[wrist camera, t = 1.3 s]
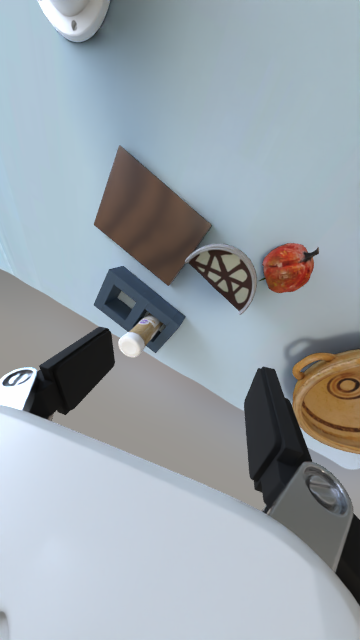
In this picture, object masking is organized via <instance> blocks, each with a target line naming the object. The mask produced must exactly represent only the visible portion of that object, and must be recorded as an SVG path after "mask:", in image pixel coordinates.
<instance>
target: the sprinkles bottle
mask: <svg viewBox="0 0 360 640" xmlns="http://www.w3.org/2000/svg"><path fill="white" fill-rule="evenodd" d="M162 325H163V323H162V322H160V321H159V320H158V319H157V318H155V317H154V316H153V315H152V314H150V313H149V314H148V315H147V316H145V317H144V318H143V319H142V320H141V321H140V322H139V323H138V324H137V325H136V326H135V327H134V328H133V329H131V330H130V331H129V332H128V333H126V334H125V335H123V336H122V337H121V338H120V340H119V343H118V344H119V348H120V350H121V351H122V352H123V353H124V354H125V355H127V356H129V357H137V356H138V355H139V354H140V353H141V352H142V351H143V350H144V348H145V346H146V344H147V343H148V342H149V341H150V340H151V339H152V338H153V336H154V335H155V334H156V333H157V331H158V330H159V329H160V327H161V326H162Z"/></svg>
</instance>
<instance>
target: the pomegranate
mask: <svg viewBox="0 0 360 640" xmlns="http://www.w3.org/2000/svg"><path fill="white" fill-rule="evenodd" d="M317 254H319V248H317V250H315V251H314V252H312V253H308V252H307V250H306V248H305V247H304V246H303V245H301V244H295V243H287V244H285V245H282V246H280V247H277V248H276V249H274V250H272V251H271V252H270V253H269V254H268V255H267V256H266V257H265V258H264V261H263V264H262V265H263V266H264V269H263V270H264V276H265V278H263V279H261V280H264V279H266V282H267V284H268V288H269V289H270V290H272V291H274V292H276V293H283V292H293V291H295V290H297V289H299V288H300V287H302V286H303V285H305V284H306V283H307V282H308V280H309V278H310V275H311V273H312V271H313V268H314V260H313V256H315V255H317ZM261 280H259V281H261Z"/></svg>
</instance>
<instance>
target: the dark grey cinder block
mask: <svg viewBox="0 0 360 640" xmlns="http://www.w3.org/2000/svg"><path fill="white" fill-rule="evenodd" d="M120 291H123V292H124V293H125V294H127V295H128V296H129V297H130V298H132V299H133V300H134V301H135V302H136V304H135V306H134V307H133V309H131V308H130V307H128V306H127V305H126V304H124V303H123V302H122V301H121V300H119V299H118V298H117V297H118V295H119V293H120ZM94 306H96V307H97V308H98V309H99V310H101V311H102V312H103V313H105V314H106V315H107V316H109V317H110V318H111V319H112V320H114V321H115V322H116V323H118V324H119V325H120V326H122V327H123V328H124V329H125V330H126V331H128V332H129V331H130V330H131V329H133V328H134V327H135V326H136V325H137V324H138V323H139V322H140V321H141V320H142V319H143V316H144V315H145V314H146V312H147V311H148V312H149V313H150V314H152V315H153V316H154V317H155V318H157V319H158V320H159V321H160V322H162V323H163V324H164V325H165V328H164V329H163V330H162V331H161V332H160V331H159V330H158V331H157V333H156V334H155V335H154V336H153V338H152V339H151V340H150V341H149V342H148V343H147V344H146V346H147V347H148V348H150V349H151V350H152V351H153V352H155V353H156V352H157V351H158V350H159V349H160V348H161V347H162V346H163V345H164V343H165V342H166V341H167V340H168V339H169V338H170V337H171V336H172V335H173V333H174V332H175V331H176V330H177V329H178V328H179V327H180V325H181V324H182V322H183V320H184V318H185V316H184V315H183V314H182V313H180V312H179V311H178V310H177V309H175V308H174V307H173V306H172V305H170V304H169V303H168V302H167V301H165V300H164V299H163V298H162V297H161V296H159V295H158V294H157V293H156V292H154V291H153V290H152V289H151V288H150V287H148V286H147V285H146V284H145V283H143V282H142V281H141V280H140V279H138V278H137V277H136V276H135V275H134V274H132V273H131V272H130V271H129V270H127V269H126V268H125V267H124V266H121V267H117V268H113V269H109V271H108V273H107V275H106V278H105V280H104V282H103V285H102V287H101V289H100V292H99V294H98V296H97V298H96V301H95V303H94Z"/></svg>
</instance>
